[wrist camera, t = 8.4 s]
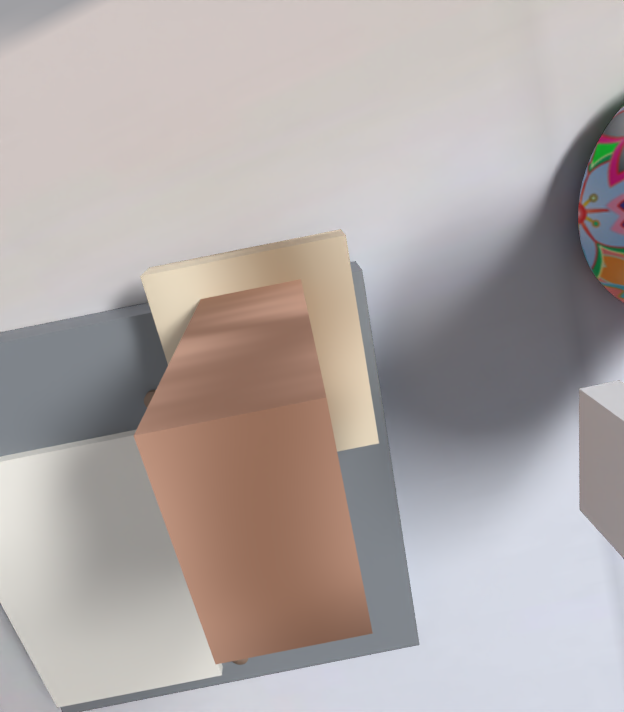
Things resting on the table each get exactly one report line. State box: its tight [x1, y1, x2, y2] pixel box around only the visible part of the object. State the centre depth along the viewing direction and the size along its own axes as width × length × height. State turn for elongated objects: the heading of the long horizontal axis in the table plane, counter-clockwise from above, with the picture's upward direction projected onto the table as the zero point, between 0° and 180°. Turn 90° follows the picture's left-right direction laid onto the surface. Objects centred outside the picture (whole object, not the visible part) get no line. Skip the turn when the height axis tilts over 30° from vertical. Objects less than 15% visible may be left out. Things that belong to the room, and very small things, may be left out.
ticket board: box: [0, 261, 419, 712], centre depth 21 cm, size 16×17×2 cm
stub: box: [134, 229, 379, 664], centre depth 13 cm, size 6×7×9 cm
